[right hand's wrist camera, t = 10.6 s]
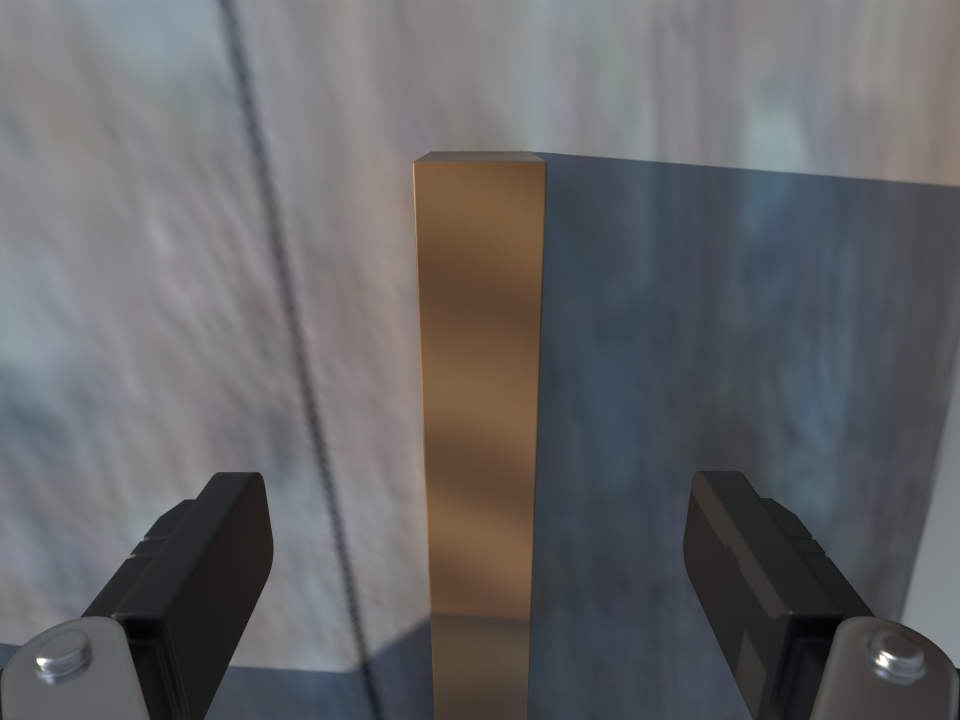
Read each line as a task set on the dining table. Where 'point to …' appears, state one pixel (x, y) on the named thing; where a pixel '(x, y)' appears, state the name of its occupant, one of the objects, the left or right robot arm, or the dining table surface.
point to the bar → (480, 419)
